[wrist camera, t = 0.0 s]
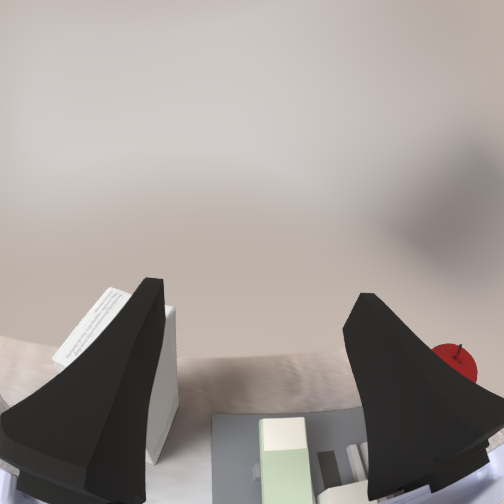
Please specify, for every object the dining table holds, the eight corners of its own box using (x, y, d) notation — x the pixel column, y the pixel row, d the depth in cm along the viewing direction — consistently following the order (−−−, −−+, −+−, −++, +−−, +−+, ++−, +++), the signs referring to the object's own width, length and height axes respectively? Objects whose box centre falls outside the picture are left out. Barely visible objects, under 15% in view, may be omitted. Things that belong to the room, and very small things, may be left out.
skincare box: (132, 388, 28) (108, 281, 21) (183, 406, 28) (178, 300, 20) (101, 448, 21) (44, 353, 14) (157, 471, 20) (126, 392, 13)
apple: (422, 436, 25) (471, 387, 21) (387, 385, 33) (424, 331, 28) (461, 409, 28) (503, 361, 24) (429, 367, 36) (463, 317, 31)
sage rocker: (309, 508, 17) (314, 509, 16) (262, 513, 17) (265, 514, 16) (301, 420, 24) (306, 416, 23) (258, 421, 23) (261, 418, 22)
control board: (439, 539, 12) (457, 533, 11) (217, 595, 10) (219, 599, 8) (393, 406, 30) (404, 393, 28) (211, 418, 27) (212, 405, 25)
